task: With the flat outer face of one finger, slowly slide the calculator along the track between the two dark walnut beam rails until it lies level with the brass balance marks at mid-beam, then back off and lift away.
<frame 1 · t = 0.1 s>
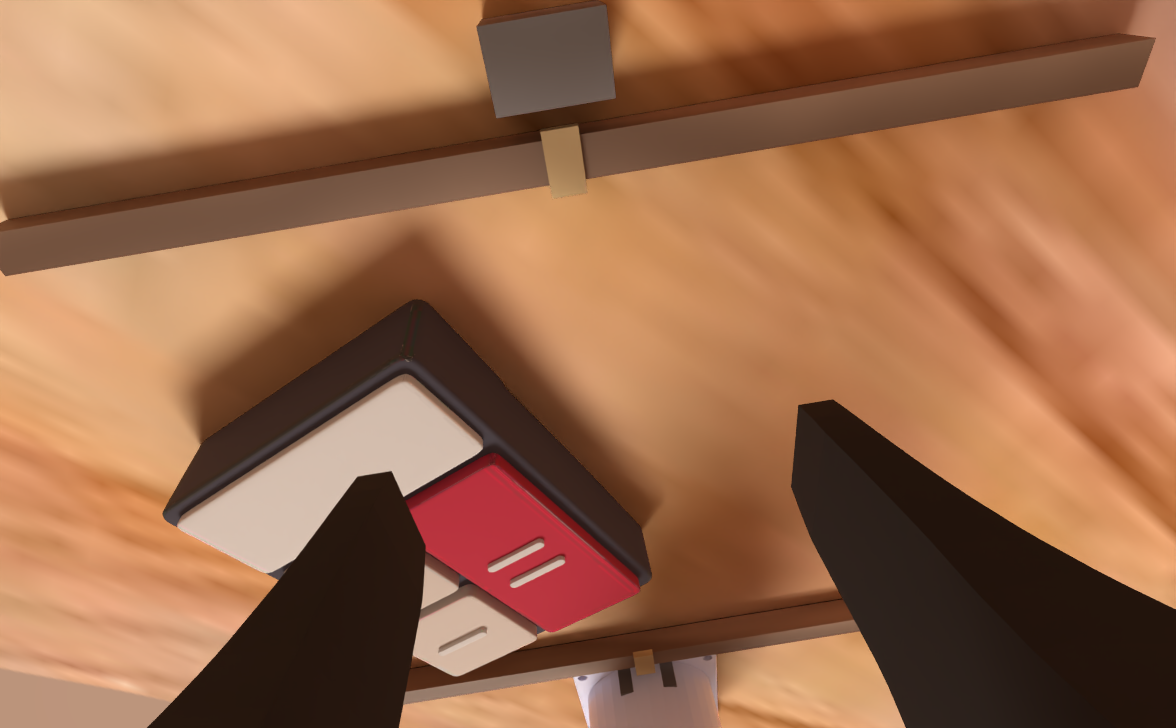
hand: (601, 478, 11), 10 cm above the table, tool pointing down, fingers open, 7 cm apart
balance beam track: (612, 467, 24), on the table
calculator: (445, 483, 25), on the table
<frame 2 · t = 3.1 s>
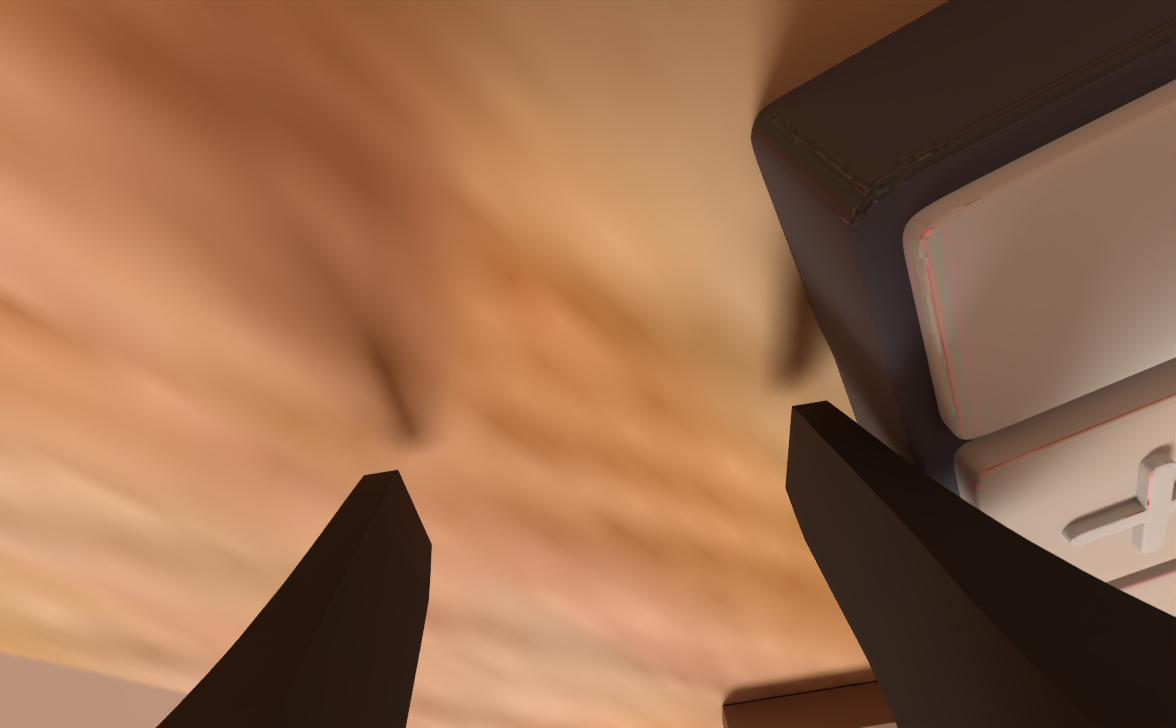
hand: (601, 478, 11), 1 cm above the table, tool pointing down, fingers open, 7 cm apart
calculator: (1109, 310, 12), on the table
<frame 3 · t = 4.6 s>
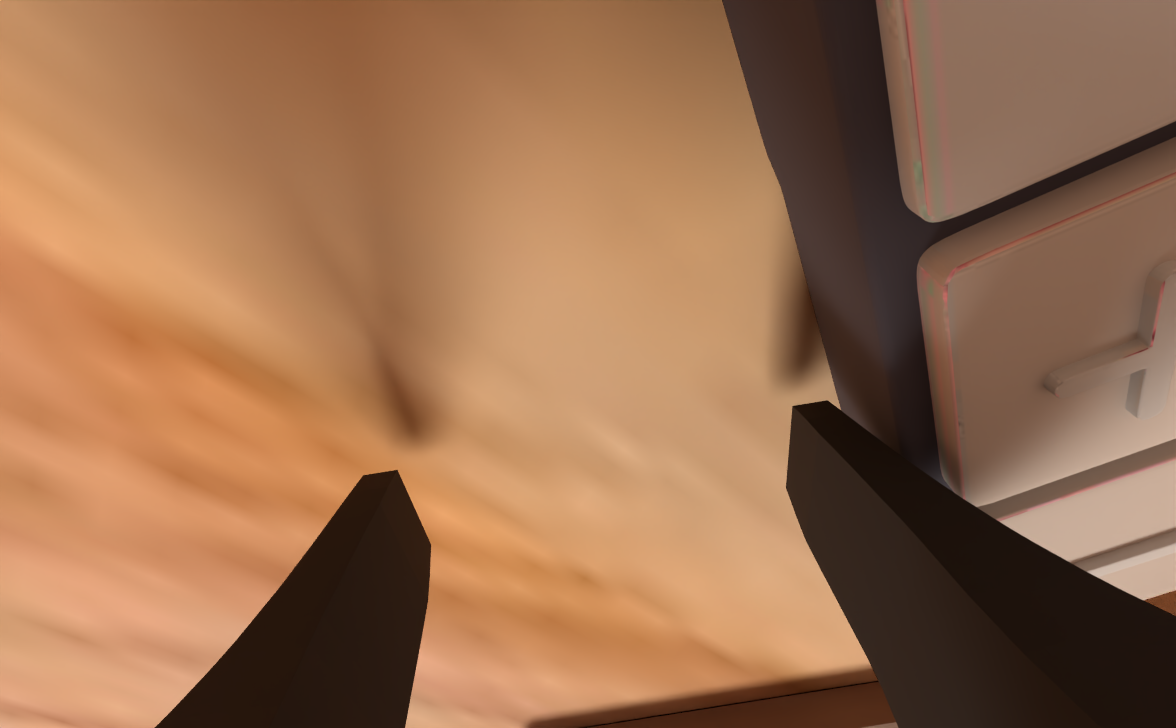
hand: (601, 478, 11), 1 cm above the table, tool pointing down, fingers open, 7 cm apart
calculator: (1103, 175, 10), on the table, touching gripper
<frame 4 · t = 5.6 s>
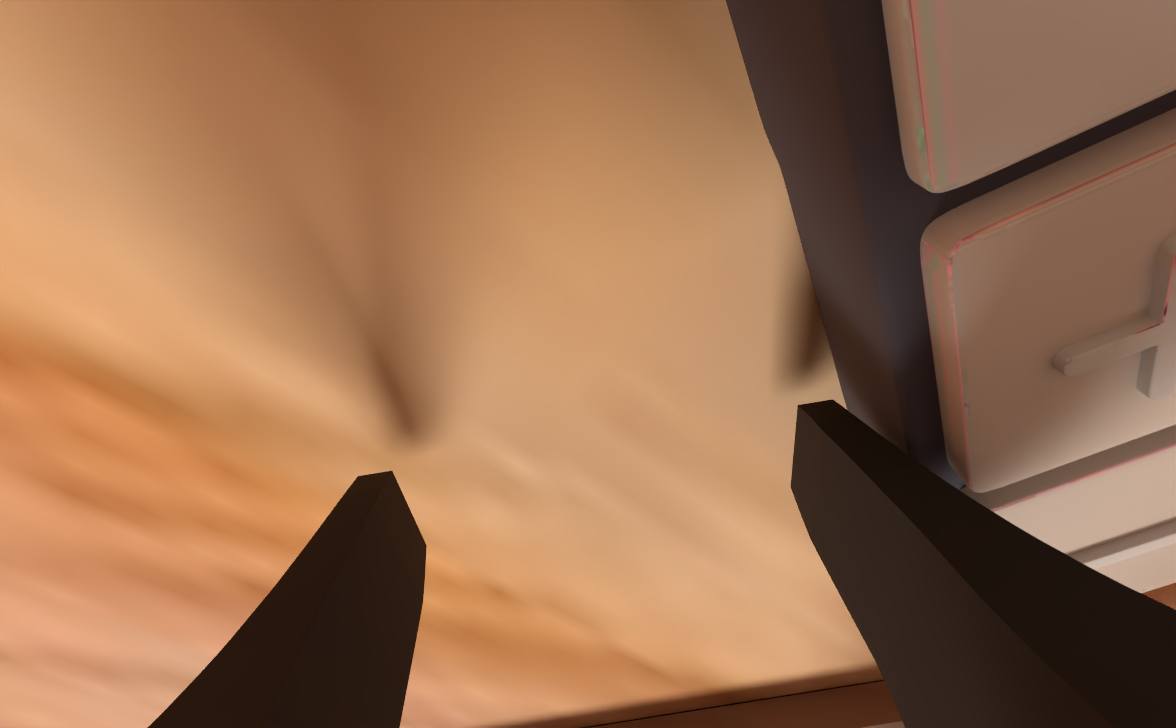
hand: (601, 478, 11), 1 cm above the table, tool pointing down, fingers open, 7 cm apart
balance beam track: (1092, 347, 12), on the table
calculator: (1110, 154, 10), on the table
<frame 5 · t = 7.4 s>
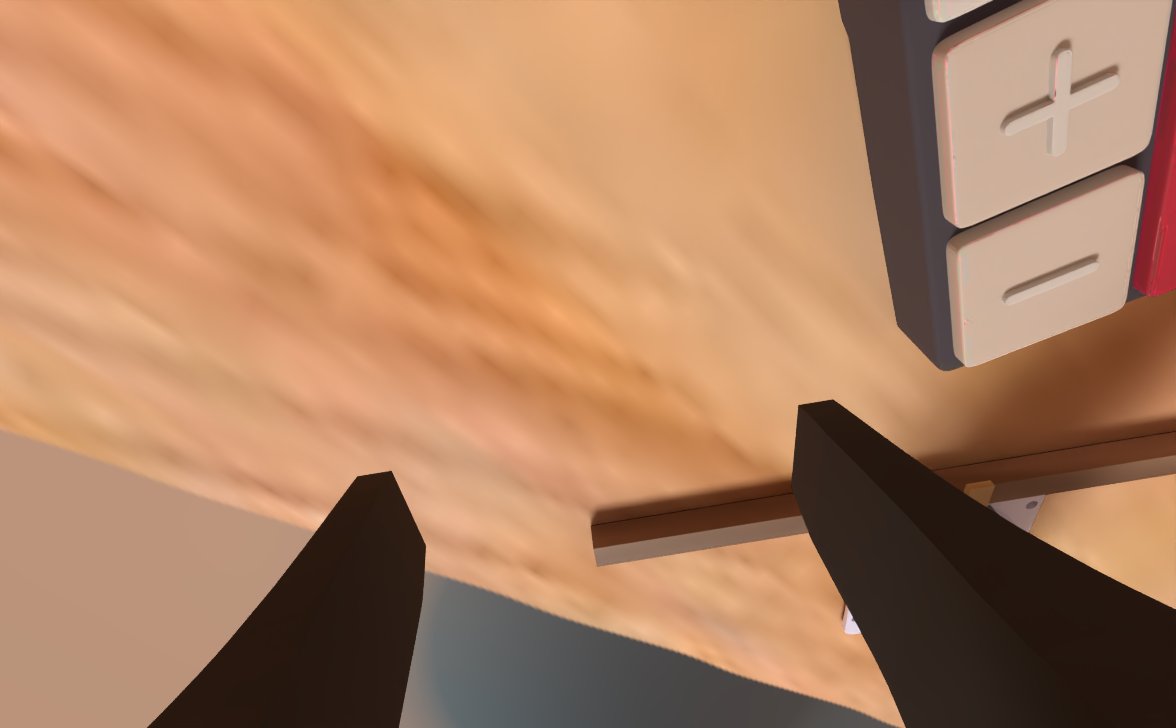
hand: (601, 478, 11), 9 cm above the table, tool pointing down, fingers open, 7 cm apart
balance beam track: (1048, 181, 18), on the table
calculator: (1044, 44, 17), on the table, touching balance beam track
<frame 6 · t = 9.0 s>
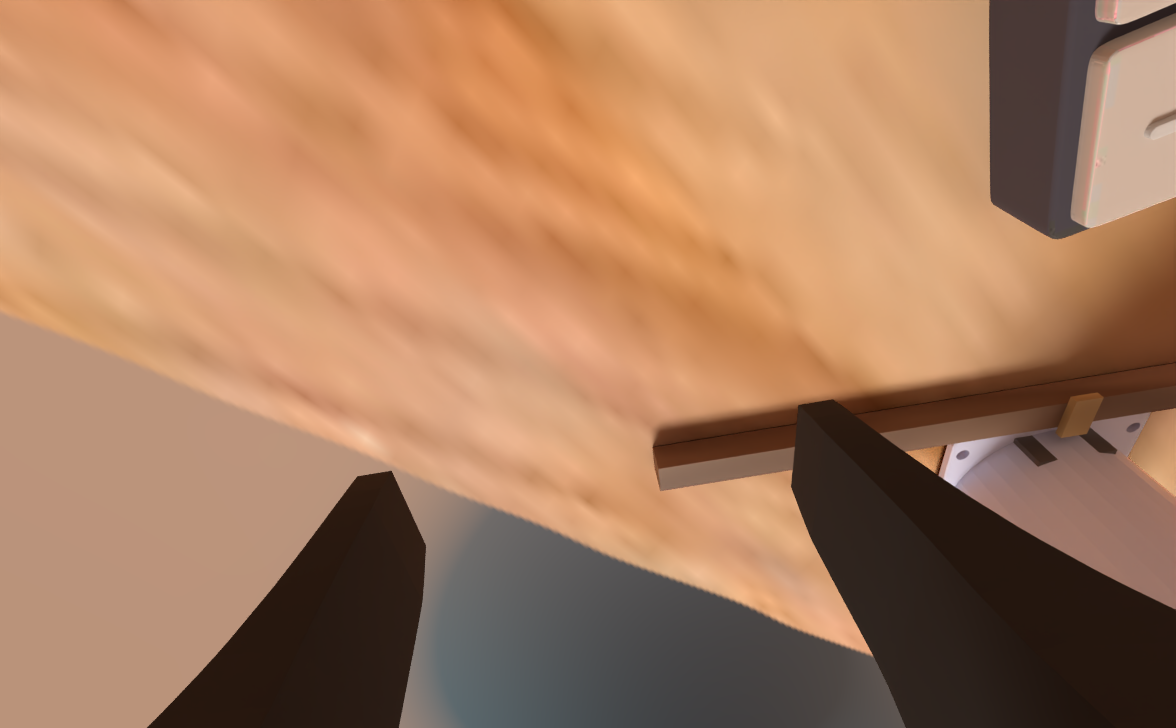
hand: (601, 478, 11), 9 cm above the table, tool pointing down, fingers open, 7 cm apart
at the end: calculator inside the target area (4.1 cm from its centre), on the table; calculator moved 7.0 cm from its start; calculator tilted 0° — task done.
